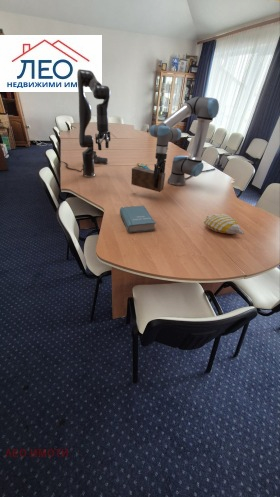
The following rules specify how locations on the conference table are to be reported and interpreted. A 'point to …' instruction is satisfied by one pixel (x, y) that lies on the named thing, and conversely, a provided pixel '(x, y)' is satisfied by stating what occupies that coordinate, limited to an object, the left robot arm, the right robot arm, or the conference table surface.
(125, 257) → the conference table surface
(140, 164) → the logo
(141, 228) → the book
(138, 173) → the box
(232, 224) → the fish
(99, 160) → the laser sight
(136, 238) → the conference table surface
